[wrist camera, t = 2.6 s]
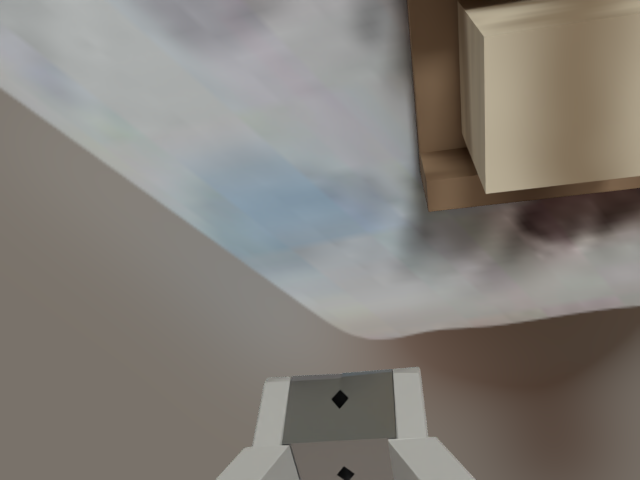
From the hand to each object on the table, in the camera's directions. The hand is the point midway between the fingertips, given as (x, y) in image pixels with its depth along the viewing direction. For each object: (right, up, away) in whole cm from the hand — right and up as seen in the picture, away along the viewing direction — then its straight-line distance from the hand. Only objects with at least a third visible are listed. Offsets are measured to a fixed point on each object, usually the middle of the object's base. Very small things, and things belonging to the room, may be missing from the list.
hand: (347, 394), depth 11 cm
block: (+9, +11, +14) cm, 20 cm away
